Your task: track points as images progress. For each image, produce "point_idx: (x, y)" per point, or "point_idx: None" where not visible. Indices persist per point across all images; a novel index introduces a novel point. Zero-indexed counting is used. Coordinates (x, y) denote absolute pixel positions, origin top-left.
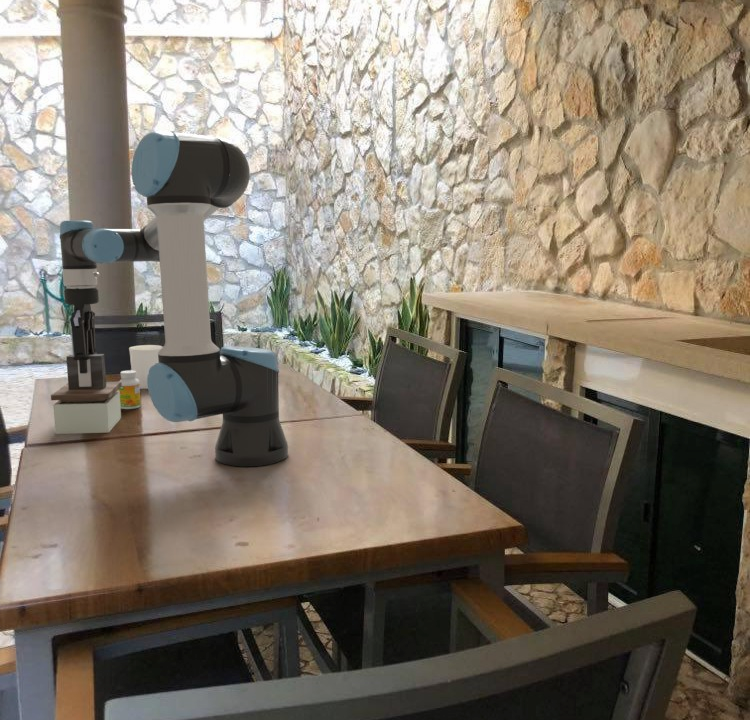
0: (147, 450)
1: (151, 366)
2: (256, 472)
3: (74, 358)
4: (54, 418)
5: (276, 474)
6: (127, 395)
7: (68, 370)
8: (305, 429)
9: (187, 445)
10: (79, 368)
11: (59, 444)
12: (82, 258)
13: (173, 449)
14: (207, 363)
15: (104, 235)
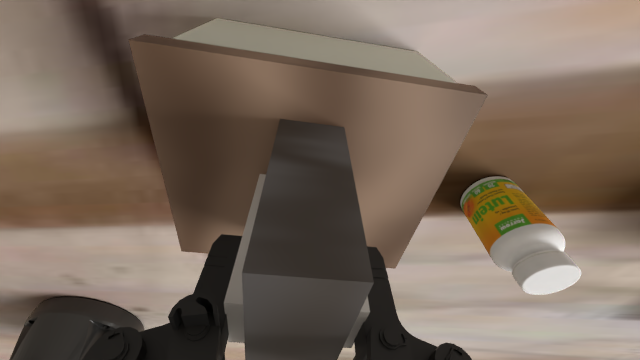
0: (90, 230)
1: None
2: (24, 319)
3: (176, 311)
4: (196, 27)
5: None
6: (479, 219)
7: (263, 187)
8: (228, 355)
9: (136, 273)
10: (240, 251)
11: (92, 49)
12: None
13: (107, 260)
14: None
15: None
